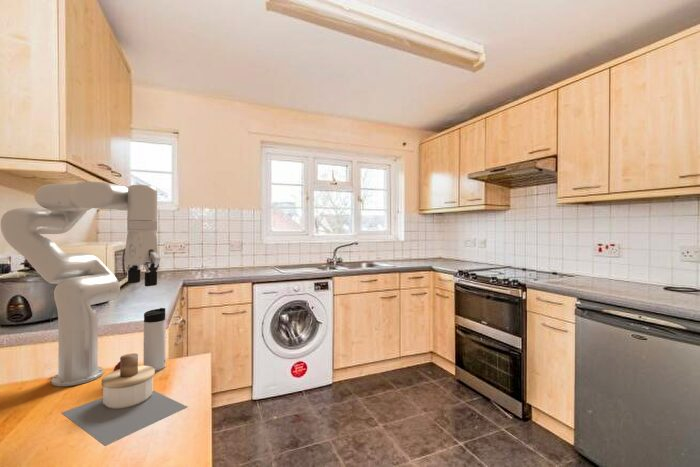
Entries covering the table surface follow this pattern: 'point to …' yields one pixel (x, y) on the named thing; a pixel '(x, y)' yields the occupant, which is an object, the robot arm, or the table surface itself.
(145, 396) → the bowl
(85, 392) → the table surface
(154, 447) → the table surface
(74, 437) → the table surface
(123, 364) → the lid
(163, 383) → the table surface
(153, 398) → the mat
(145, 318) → the travel mug
